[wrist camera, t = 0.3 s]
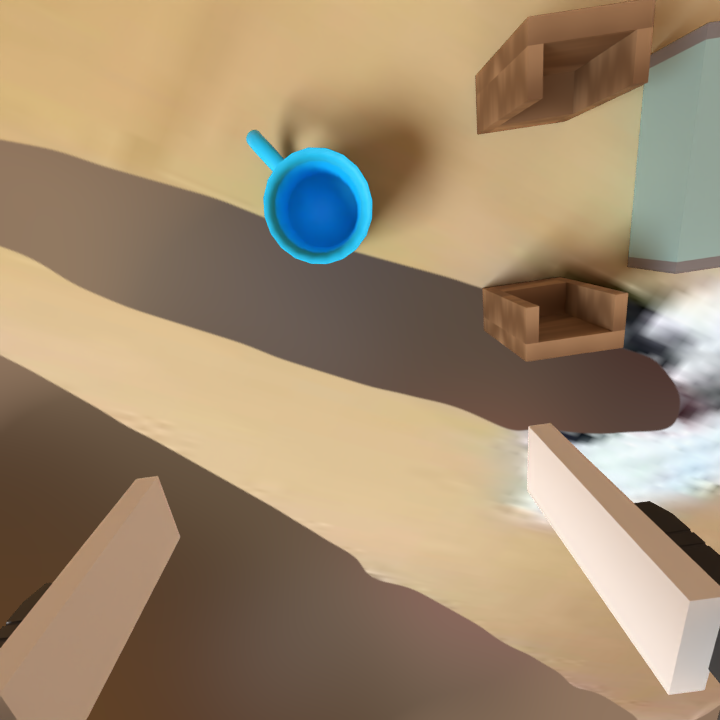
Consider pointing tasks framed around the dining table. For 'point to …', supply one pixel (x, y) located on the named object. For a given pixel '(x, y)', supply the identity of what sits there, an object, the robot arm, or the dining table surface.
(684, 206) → the rail
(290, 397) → the dining table surface
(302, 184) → the mug
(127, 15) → the dining table surface
